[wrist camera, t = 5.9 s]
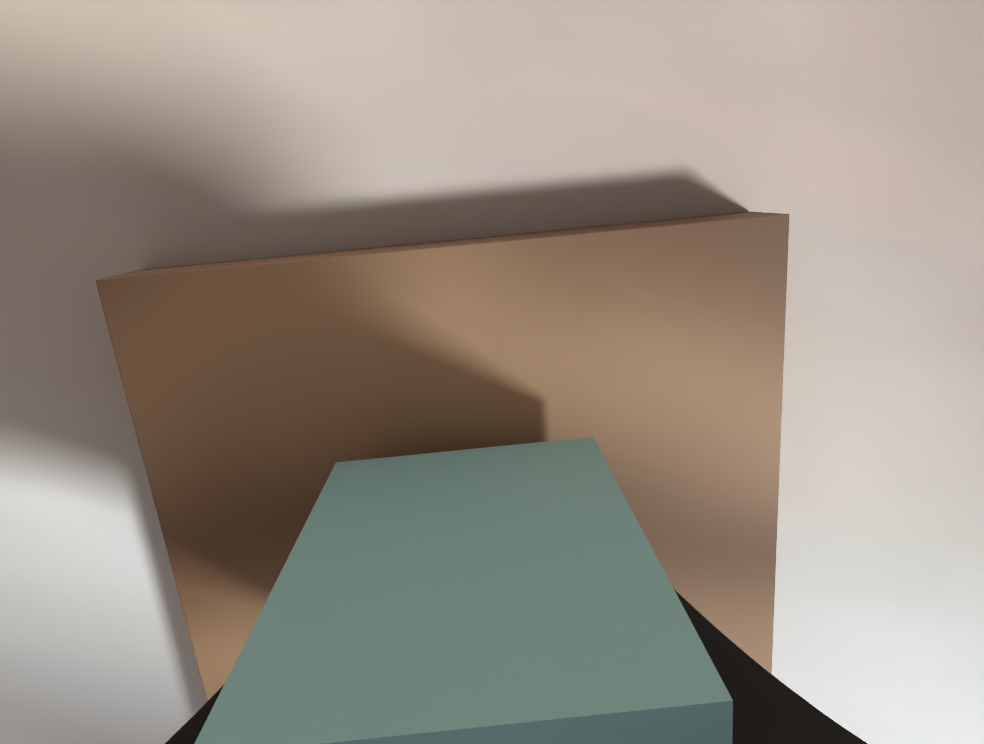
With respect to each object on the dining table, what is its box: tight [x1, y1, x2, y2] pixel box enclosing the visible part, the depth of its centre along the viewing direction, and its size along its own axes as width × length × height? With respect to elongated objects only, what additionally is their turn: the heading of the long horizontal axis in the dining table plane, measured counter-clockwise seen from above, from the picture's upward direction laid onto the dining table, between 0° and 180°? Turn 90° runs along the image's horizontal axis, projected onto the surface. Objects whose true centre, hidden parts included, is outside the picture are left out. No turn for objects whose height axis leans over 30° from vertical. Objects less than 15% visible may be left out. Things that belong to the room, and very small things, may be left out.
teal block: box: [195, 437, 733, 744], centre depth 9 cm, size 4×4×6 cm
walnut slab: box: [96, 212, 789, 702], centre depth 13 cm, size 12×12×2 cm
